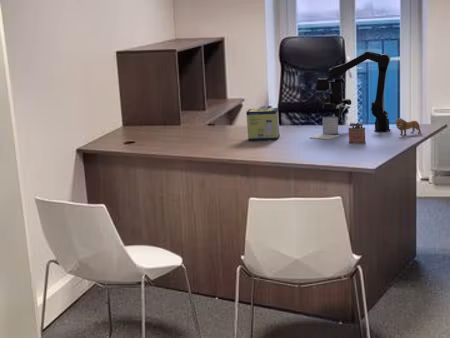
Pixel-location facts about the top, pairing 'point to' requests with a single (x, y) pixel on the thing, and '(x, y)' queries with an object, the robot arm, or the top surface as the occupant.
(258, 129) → the protein box
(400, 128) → the lion figurine
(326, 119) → the medicine box
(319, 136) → the felt pad
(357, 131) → the lighter
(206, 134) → the top surface
